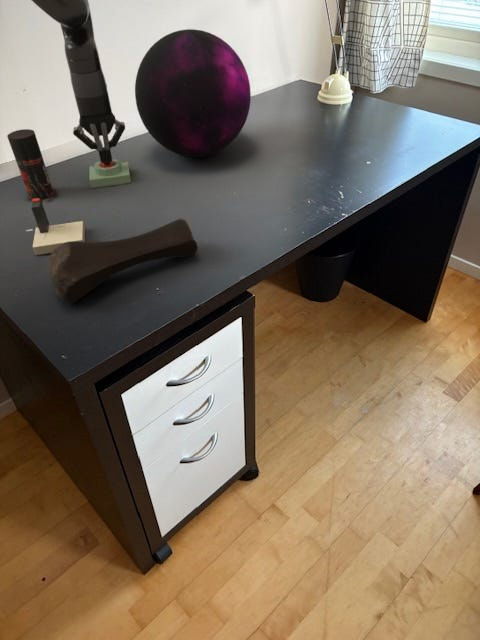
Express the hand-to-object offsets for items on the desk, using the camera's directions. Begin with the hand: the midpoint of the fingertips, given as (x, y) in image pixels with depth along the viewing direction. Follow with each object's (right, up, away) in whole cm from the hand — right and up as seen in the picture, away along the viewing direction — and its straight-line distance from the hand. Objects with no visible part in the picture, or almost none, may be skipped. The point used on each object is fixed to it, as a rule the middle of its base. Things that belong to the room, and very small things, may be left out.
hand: (107, 163), depth 121 cm
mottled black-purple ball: (+22, +7, +14) cm, 27 cm away
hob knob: (-8, -20, -19) cm, 29 cm away
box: (0, -3, +3) cm, 4 cm away
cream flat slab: (-6, -22, -18) cm, 29 cm away
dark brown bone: (+11, -31, -28) cm, 43 cm away
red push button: (0, -1, +1) cm, 2 cm away
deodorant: (-16, -9, -2) cm, 18 cm away
